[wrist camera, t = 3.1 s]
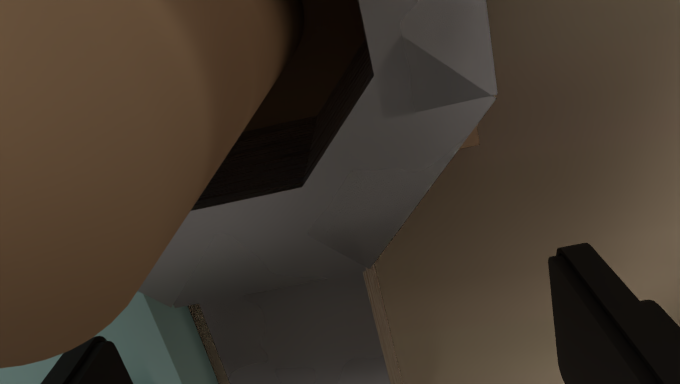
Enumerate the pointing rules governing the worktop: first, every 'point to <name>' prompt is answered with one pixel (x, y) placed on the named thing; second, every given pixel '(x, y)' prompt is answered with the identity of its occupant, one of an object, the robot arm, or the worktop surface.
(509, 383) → the worktop surface
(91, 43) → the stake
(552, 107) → the worktop surface
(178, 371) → the tray
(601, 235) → the worktop surface
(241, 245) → the wrench
